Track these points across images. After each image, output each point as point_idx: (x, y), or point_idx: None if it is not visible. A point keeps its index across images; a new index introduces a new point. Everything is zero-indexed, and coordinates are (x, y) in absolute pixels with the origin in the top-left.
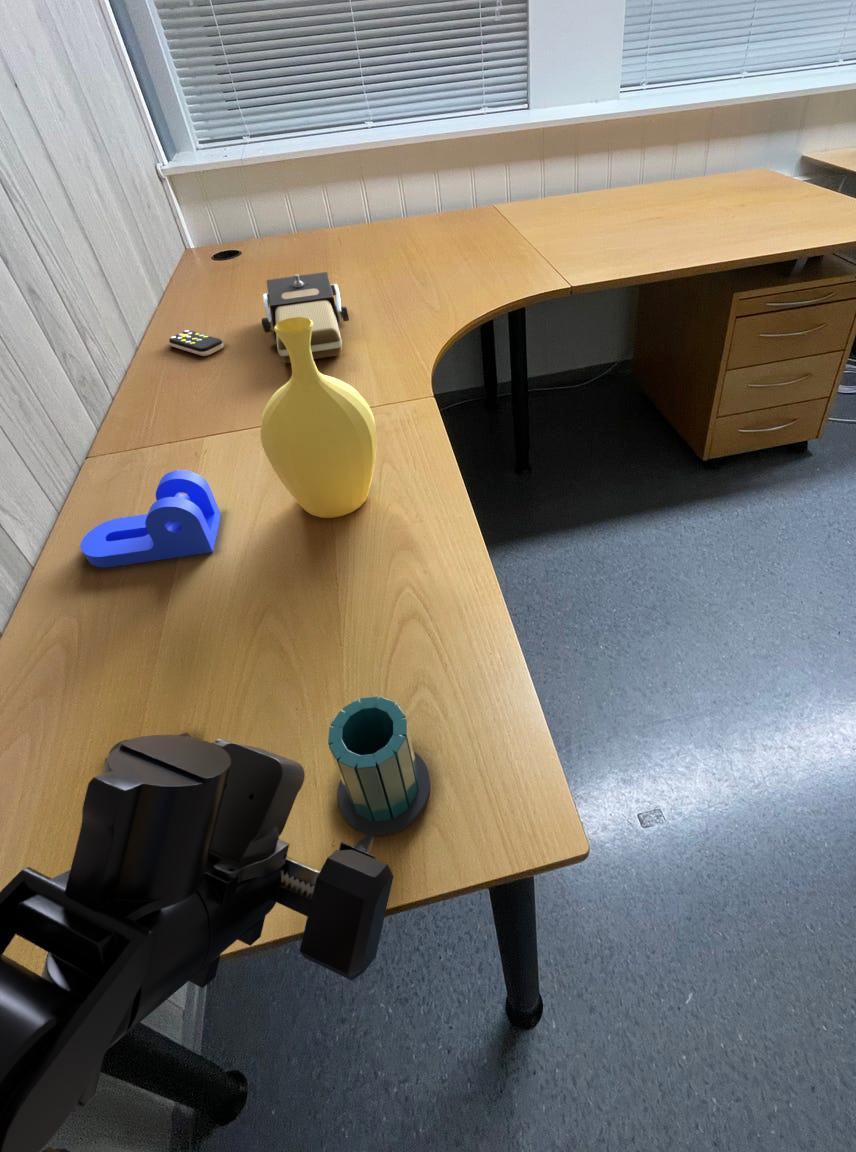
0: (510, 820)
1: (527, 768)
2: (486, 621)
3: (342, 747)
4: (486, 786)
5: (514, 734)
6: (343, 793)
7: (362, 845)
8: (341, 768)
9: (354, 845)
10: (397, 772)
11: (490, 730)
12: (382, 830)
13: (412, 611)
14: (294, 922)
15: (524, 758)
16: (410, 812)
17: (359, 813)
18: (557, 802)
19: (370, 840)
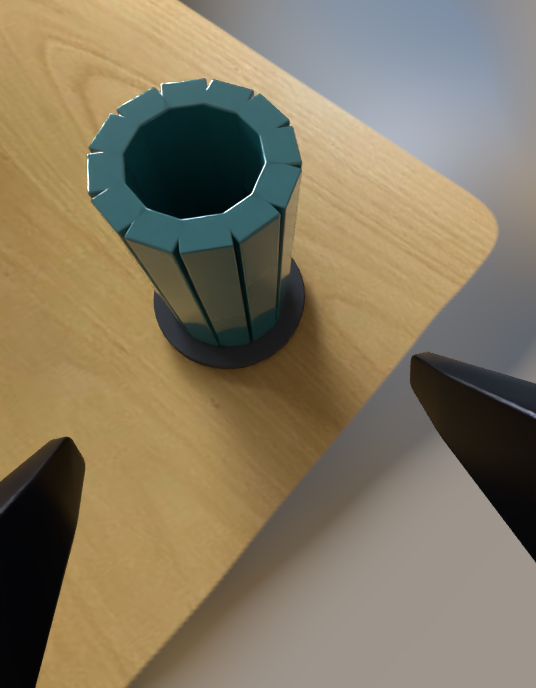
0: (416, 237)
1: (388, 171)
2: (199, 34)
3: (163, 221)
4: (357, 218)
5: (342, 143)
6: (178, 335)
7: (518, 391)
8: (191, 272)
9: (523, 410)
10: (294, 227)
11: (310, 154)
12: (273, 345)
13: (82, 67)
14: (243, 531)
15: (376, 163)
16: (292, 301)
17: (226, 344)
18: (451, 188)
19: (460, 363)
